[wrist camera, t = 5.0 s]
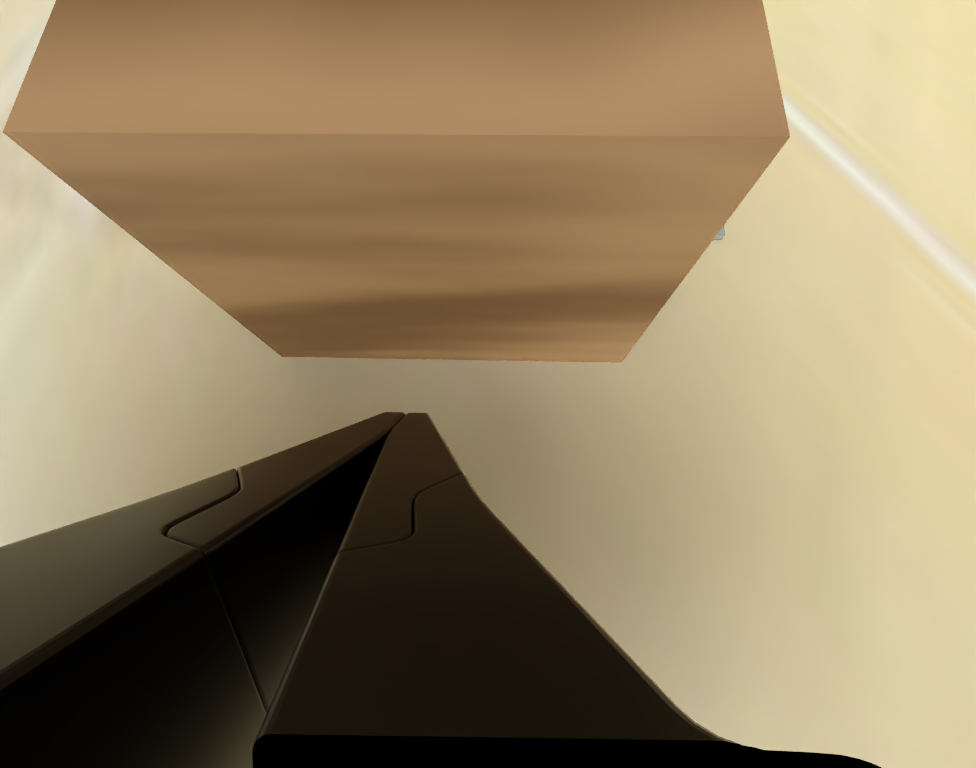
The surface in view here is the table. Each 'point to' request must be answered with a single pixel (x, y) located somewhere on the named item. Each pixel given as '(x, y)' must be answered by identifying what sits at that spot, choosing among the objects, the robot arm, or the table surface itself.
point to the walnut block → (414, 159)
